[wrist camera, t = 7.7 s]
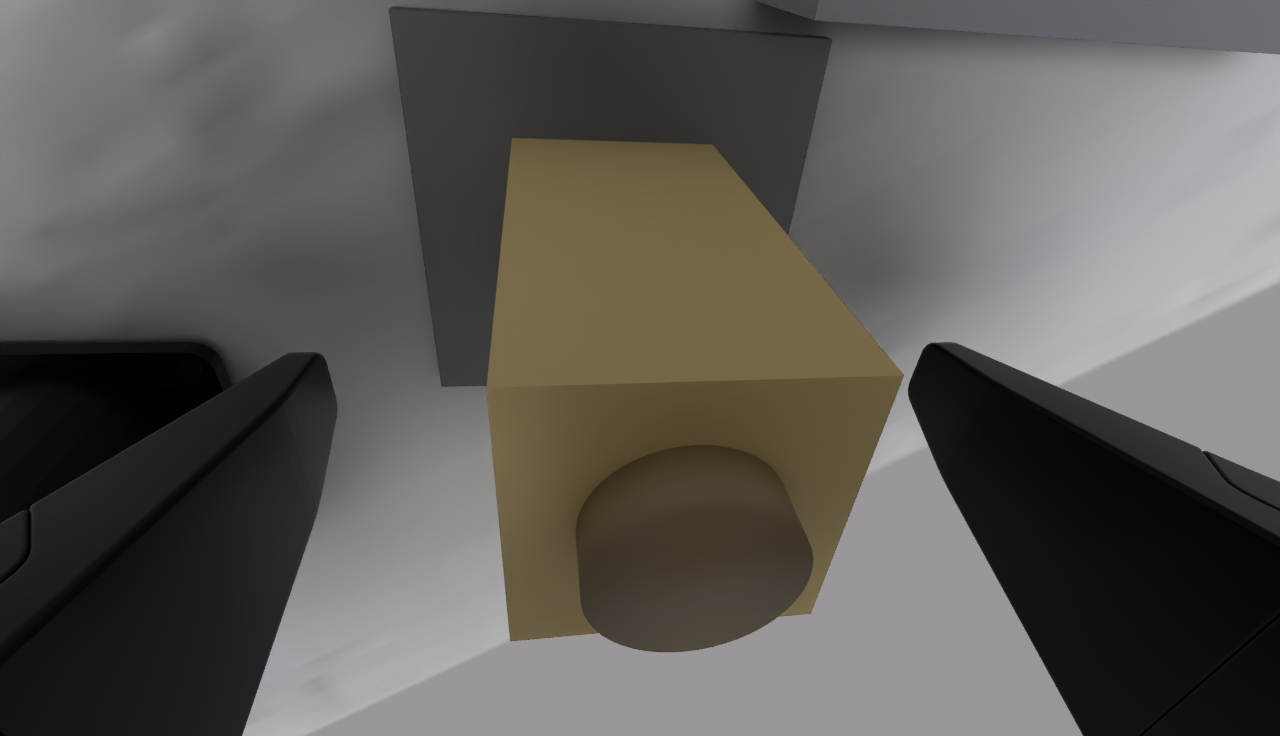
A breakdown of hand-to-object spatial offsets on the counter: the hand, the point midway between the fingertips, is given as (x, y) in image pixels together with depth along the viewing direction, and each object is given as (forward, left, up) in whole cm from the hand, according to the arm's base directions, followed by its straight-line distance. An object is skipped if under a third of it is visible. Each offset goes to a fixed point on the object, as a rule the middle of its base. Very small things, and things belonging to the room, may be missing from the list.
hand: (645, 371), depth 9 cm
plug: (0, 0, -5) cm, 5 cm away
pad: (0, 0, -6) cm, 6 cm away
